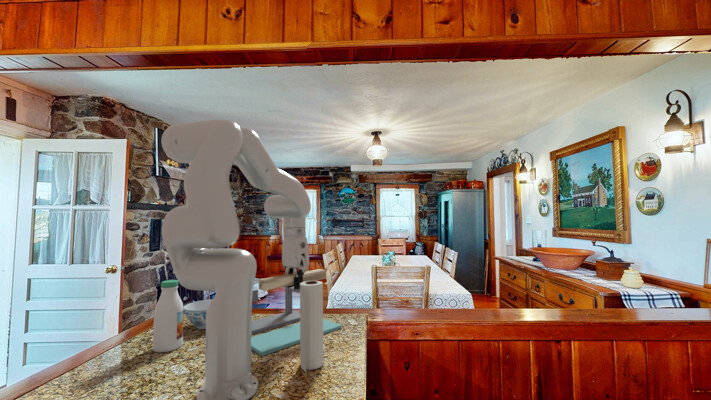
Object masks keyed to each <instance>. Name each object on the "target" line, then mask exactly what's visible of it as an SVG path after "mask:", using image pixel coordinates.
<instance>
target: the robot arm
mask: <svg viewBox="0 0 711 400" xmlns="http://www.w3.org/2000/svg"><path fill="white" fill-rule="evenodd" d="M160 141H161V147H162V149H163V152H164V153H165V154H166V156H168V157H169V158H170V159H171V160H173V161H175V162H177V163H181V164H189V165H188V168H187V170H186V172H185V176H184V179H183V190H184V194H185V197H186V202H187V205H179V206H176V207H174V208H171V210H169V211H168V212H167V214H166V215H165V217H164V218H163V221H162V226H161V236H162V241H163V243H164V246H165V249H166V253H167V255H168V259H169V260H170V264H171V266H172V269H173V272H174V275H175V277H176V280H178V284H180V285H181V286H182V287H183V288H185V289H187V290H193V291H207V292H208V291H209V292H215V295H214V297H213V298H212V299H213V300H212V302H211V303H210V305H209V307H208V309H207V313H206V329H205V352H204V353H205V357H204V358H205V361H204V363H205V365H204V384H202V385H201V387H199V389H198V390H197V392H196V400H249V399H250V398H252V397H253V396H254V395H255V394H256V393H257V391H258V390H259V380H258V378H257V377H256V376H255V375H253V374H252V349H251V337H253V336H252V321H253V319H252V310H253V309H252V307H253V302H252V293H253V290H254V286H255V280H256V276H257V275H256V274H257V267H258V265H257V260H256V258H255V257H254V254H252V253H251V252H250V251H247V250H246V249H242V248H227V247H230V246H232V245H234V244H235V243H236V242H237V241H238V240H239V238H240V237H239V236H240V224H239V218H238V216H237V215H238V214H237V212H236V207H235V203H234V199H233V196H232V191H231V186H230V174H231V170H232V168H233V165H234V164H235V165H236V166H237V167H238V168H239V170H240V171H241V173H242V174H243V175H244V177H245V178H246V180H247V181H248V183H249V184H250V185H251V186H252V187H254V188H256V189H257V190H258V189H259V190H260V191H261V190H262V191H264V192H267V193H268V192H269V193H271V194H273V195H270V196H269V197H266V199H265V201H264V203H263V209H264V212H265V214H266V215H267V216H269V217H270V218H273V219H282V246H281V247H282V249H281V262H282V263H281V264H282V267H283V269H284V271H285V270H286V275H287V274H293V273H295V277H294V285H291V286H287V287H288V288H289V287H294V289H295V290H296V289H300V283H302V282H303V276H304V273H305V271H308V269H309V267H308V266H309V265H310V252H309V251H310V250H309V244H308V243H309V242H308V238H307V235H306V232H307V231H306V230H307V229H306V217H308V216H309V214H310V212H311V208H312V204H311V199H310V197H309V195H308V194H309V193H307V191H306V188H305V187H304V185H303V184H302V183H301V182H300V181H299V180H298V179H297V178H295V177H294V176H292V175H291V174H289V173H287V172H286V171H284V170H282V169H280V168H278V167H277V165H276V164H275V162H274V160H273V159H272V157H271V156H270V154H269V151H268V150H267V148H266V147H265V145H264V143H263V141H262V140H261V138H260V136H259V135H258V133H256V131H254V130H253V129H250V128H249V127H248V128H247V127H240V125H239V124H237V122H235V121H234V120H233V121H232V120H229V119H219V118H218V119H207V120H206V119H205V120H200V121H192V122H191V121H190V122H182V123H176V124H172V125H170V126H168V127H167V128H166V129H165V130H164V131H163V134H161V140H160ZM291 268H292V269H291Z"/></svg>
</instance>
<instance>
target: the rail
mask: <svg viewBox="0 0 711 400" xmlns="http://www.w3.org/2000/svg"><path fill="white" fill-rule="evenodd" d="M294 277H295V272H294V273H293V274H287V275H285V274H282V275H277V276H276V275H275V276H269V277H266V278H265V277H264V278H259V279H258V290H261V291H263V292H264V291H271V290H276V289H280V288H285V287H286V286H291V285H294ZM326 279H327V269H322V268H319V269H313V270H306V271H305V273H304V276H303V282H306V281H320V280H326Z"/></svg>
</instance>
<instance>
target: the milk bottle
mask: <svg viewBox="0 0 711 400" xmlns="http://www.w3.org/2000/svg"><path fill="white" fill-rule="evenodd" d="M178 288H179V281H178V279H167V280H163V281H161V282H160V289H161V293H160V296H159V299H158V301H157V302H156V303H155V307H154V313H153V335H152V338H153V340H152V341H153V342H152V349H153V352H155V353H168V352H172V351H174V350H177V349H179V348H181V347H182V346H183V343H184V309H183V308H184V303H183V301H182V299H181V296H180V295H179V292H178Z"/></svg>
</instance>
